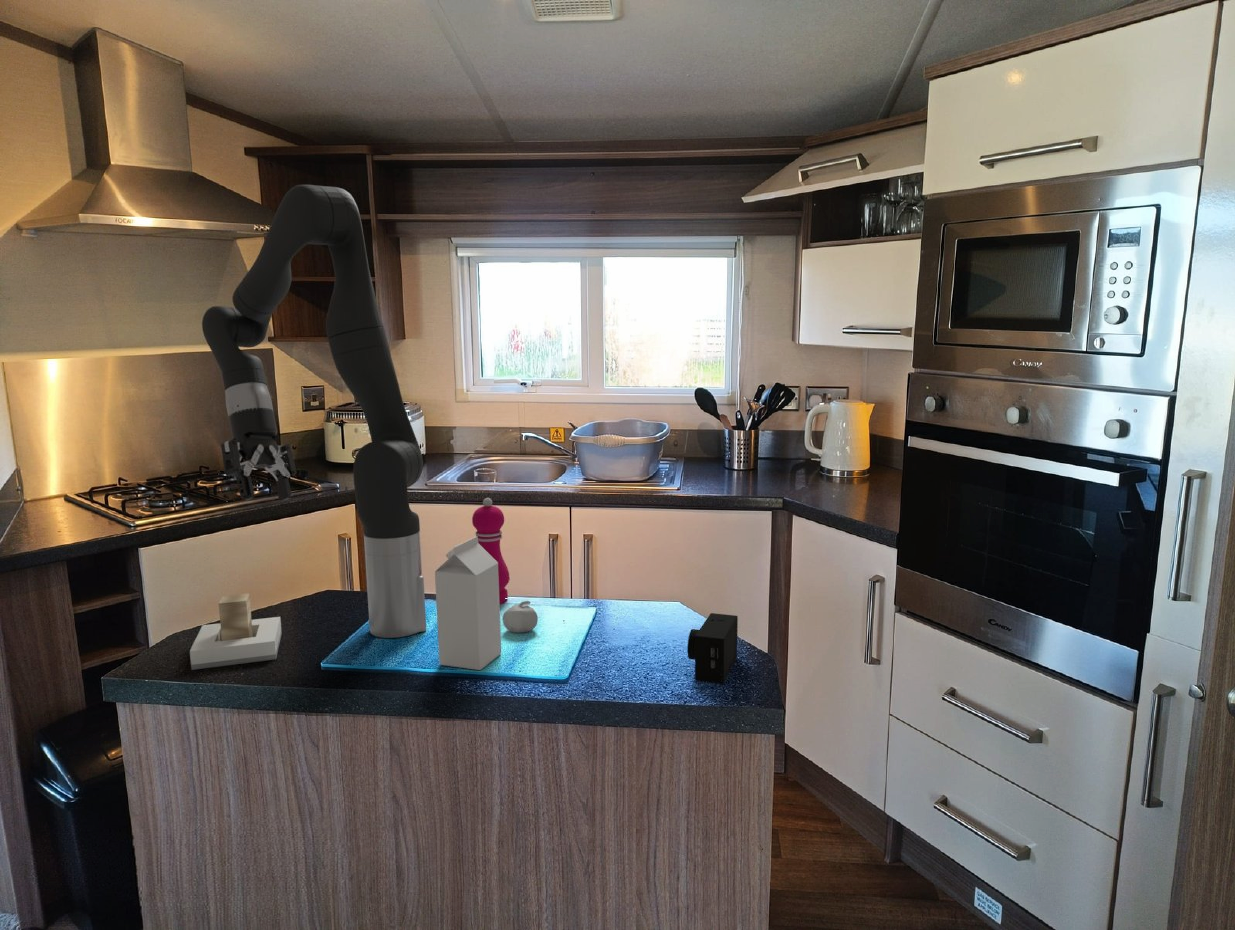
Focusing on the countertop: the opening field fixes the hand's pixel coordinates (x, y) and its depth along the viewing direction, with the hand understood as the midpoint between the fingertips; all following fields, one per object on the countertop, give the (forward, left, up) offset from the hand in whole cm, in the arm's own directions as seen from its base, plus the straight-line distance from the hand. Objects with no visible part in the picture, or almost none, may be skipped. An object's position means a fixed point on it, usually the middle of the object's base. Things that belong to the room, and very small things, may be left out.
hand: (267, 499), depth 143 cm
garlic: (-40, +22, -22) cm, 51 cm away
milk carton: (-30, +32, -22) cm, 49 cm away
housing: (+5, +15, -22) cm, 27 cm away
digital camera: (-64, +48, -22) cm, 83 cm away
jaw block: (+5, +15, -21) cm, 26 cm away
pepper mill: (-38, +4, -22) cm, 44 cm away
